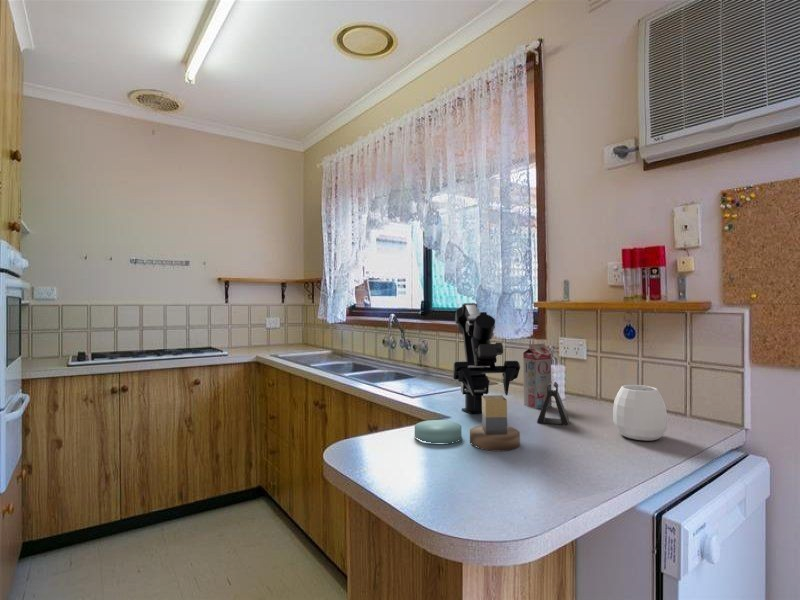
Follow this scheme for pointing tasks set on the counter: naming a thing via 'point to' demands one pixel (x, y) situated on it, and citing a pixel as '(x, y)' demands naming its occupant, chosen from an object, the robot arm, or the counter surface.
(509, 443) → the stand
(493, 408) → the block
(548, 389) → the phone stand
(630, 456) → the counter surface
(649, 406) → the white faceted vase
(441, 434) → the stand
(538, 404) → the juice carton
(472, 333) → the robot arm
